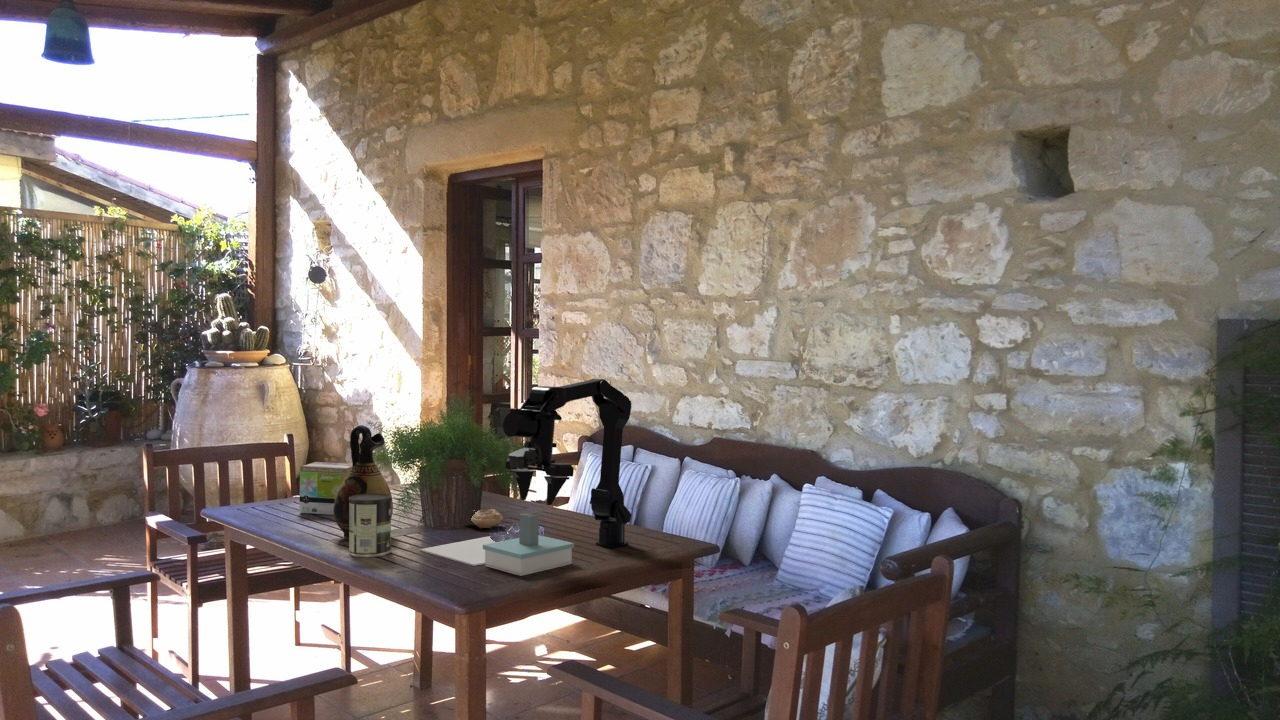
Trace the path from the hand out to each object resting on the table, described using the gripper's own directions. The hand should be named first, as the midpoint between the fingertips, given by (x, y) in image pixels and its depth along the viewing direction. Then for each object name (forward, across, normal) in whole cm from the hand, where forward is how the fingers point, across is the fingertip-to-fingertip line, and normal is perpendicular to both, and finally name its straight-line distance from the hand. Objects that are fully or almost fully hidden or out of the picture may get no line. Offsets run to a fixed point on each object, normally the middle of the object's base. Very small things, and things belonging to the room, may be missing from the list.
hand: (536, 502), depth 223 cm
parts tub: (+15, +1, -2) cm, 15 cm away
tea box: (+15, -91, -1) cm, 92 cm away
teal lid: (+12, +1, -2) cm, 12 cm away
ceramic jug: (+16, -53, -13) cm, 57 cm away
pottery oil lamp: (+13, -42, +19) cm, 48 cm away
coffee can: (+17, -36, -21) cm, 45 cm away
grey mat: (+15, -18, 0) cm, 23 cm away
